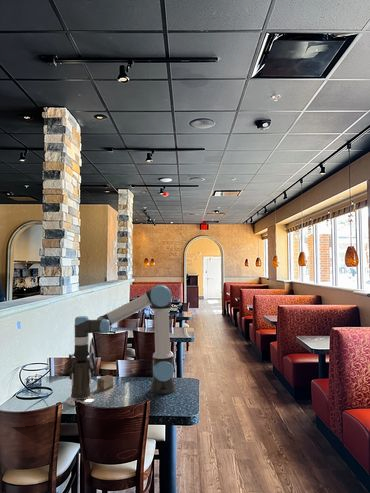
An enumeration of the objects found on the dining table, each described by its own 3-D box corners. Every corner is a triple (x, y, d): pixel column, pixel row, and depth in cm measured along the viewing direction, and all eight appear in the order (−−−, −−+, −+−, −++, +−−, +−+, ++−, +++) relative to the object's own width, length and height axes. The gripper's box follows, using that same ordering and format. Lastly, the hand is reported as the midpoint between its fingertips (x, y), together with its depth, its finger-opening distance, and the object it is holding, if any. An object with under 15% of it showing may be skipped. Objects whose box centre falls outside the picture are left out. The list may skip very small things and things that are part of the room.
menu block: (113, 387, 238) (113, 376, 238) (103, 391, 230) (103, 379, 230) (107, 386, 240) (107, 375, 241) (97, 390, 233) (97, 378, 233)
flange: (101, 400, 215) (101, 398, 215) (76, 408, 203) (76, 406, 203) (85, 394, 226) (85, 392, 226) (60, 401, 213) (60, 399, 214)
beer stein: (70, 393, 220) (70, 358, 220) (89, 391, 224) (89, 357, 224) (72, 404, 206) (72, 367, 206) (92, 401, 210) (92, 365, 210)
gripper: (100, 341, 223) (100, 380, 222) (61, 344, 216) (61, 384, 215) (101, 343, 216) (101, 384, 215) (61, 346, 209) (61, 388, 208)
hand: (81, 384), depth 215 cm, fingers closed on beer stein, 9 cm apart
